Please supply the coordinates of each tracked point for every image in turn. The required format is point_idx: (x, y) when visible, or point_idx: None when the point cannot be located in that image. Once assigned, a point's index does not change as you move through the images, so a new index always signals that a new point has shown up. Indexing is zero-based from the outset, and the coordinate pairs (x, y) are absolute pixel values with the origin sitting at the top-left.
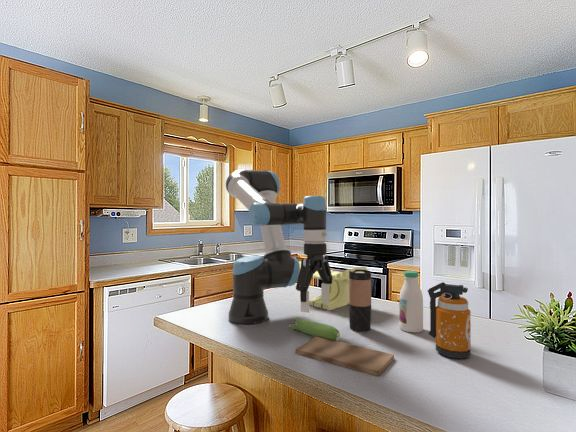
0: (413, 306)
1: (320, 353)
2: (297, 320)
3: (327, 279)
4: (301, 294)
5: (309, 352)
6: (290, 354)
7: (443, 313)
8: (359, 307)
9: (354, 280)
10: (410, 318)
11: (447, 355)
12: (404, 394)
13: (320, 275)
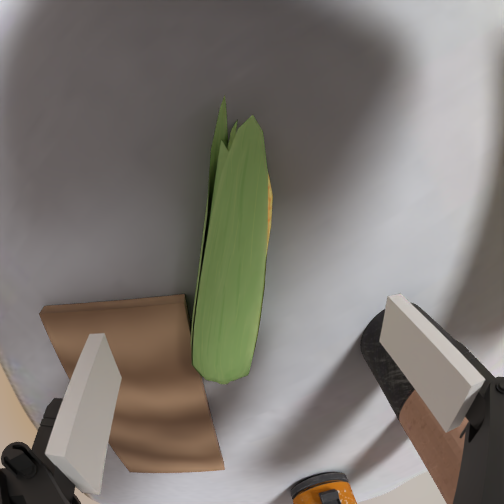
0: None
1: None
2: (225, 162)
3: (464, 462)
4: (40, 448)
5: (59, 358)
6: (27, 298)
7: None
8: (397, 416)
9: None
10: None
11: (291, 491)
12: (117, 485)
13: (478, 481)
